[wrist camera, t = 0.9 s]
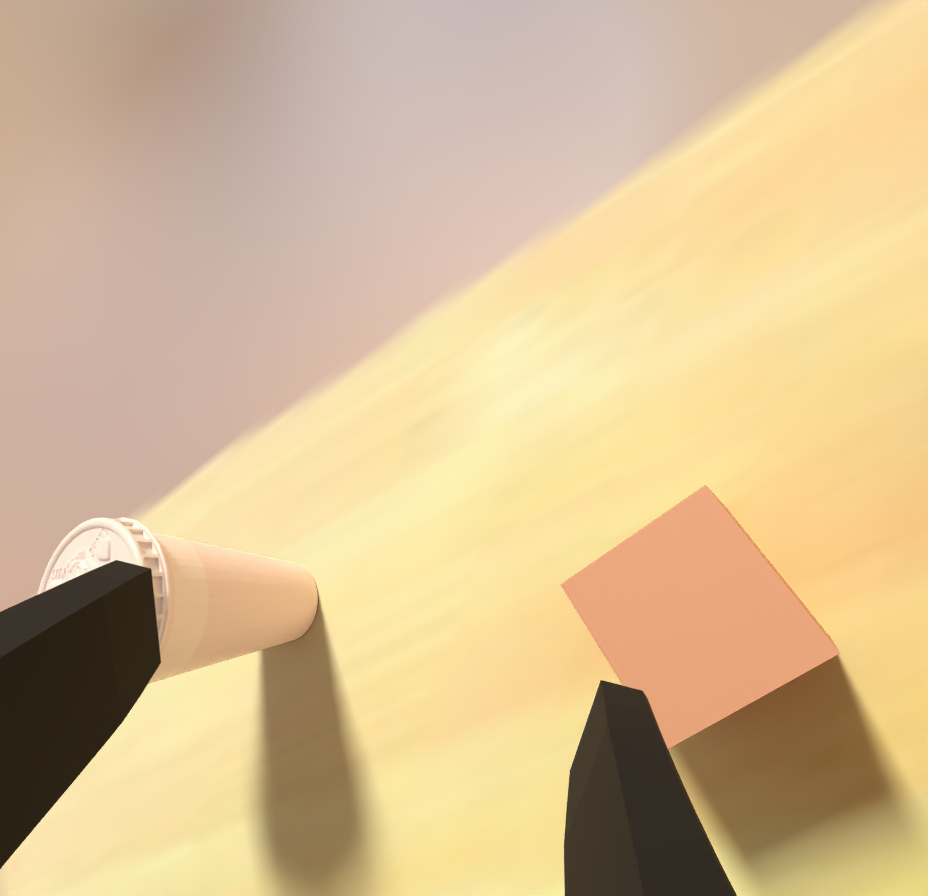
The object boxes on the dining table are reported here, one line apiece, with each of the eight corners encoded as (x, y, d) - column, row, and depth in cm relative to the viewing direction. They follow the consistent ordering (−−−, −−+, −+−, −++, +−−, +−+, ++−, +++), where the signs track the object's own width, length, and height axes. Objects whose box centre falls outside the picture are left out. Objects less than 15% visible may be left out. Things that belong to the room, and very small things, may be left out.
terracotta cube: (829, 636, 19) (839, 653, 14) (692, 715, 20) (663, 751, 16) (724, 504, 21) (705, 485, 17) (606, 583, 22) (560, 584, 18)
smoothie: (261, 694, 29) (-126, 776, 17) (227, 572, 31) (-129, 567, 19) (359, 634, 27) (1, 678, 15) (314, 509, 29) (-21, 459, 17)
